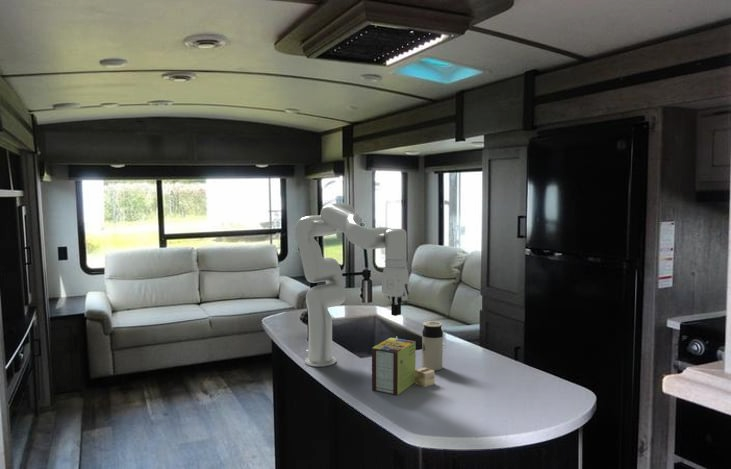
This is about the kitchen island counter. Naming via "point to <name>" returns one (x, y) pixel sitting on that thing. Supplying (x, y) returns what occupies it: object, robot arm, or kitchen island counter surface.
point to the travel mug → (432, 345)
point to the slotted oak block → (424, 377)
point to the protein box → (393, 365)
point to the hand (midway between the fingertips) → (396, 314)
